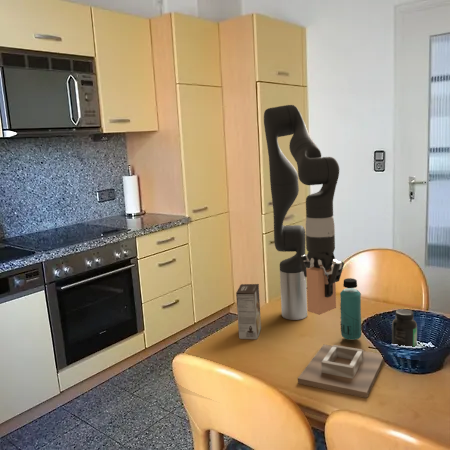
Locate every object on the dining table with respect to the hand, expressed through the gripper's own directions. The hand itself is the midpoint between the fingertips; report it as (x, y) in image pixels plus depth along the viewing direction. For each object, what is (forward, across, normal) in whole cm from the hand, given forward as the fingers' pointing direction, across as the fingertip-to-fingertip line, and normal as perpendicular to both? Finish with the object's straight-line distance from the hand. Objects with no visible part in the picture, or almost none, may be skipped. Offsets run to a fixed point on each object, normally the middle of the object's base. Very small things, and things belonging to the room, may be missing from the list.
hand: (321, 294), depth 129 cm
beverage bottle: (+22, -6, +20) cm, 30 cm away
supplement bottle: (+22, +9, +25) cm, 35 cm away
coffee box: (+22, -33, +2) cm, 39 cm away
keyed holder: (+22, +4, +3) cm, 22 cm away
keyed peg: (+4, 0, 0) cm, 4 cm away
